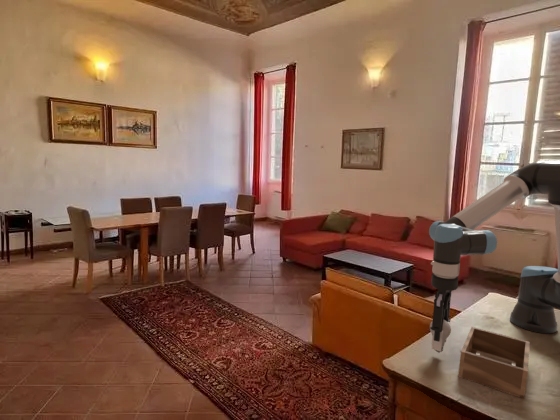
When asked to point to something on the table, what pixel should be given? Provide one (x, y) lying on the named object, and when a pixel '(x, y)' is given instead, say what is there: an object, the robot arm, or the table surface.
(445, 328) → the lightbulb
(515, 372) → the crate
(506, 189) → the robot arm
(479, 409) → the table surface
